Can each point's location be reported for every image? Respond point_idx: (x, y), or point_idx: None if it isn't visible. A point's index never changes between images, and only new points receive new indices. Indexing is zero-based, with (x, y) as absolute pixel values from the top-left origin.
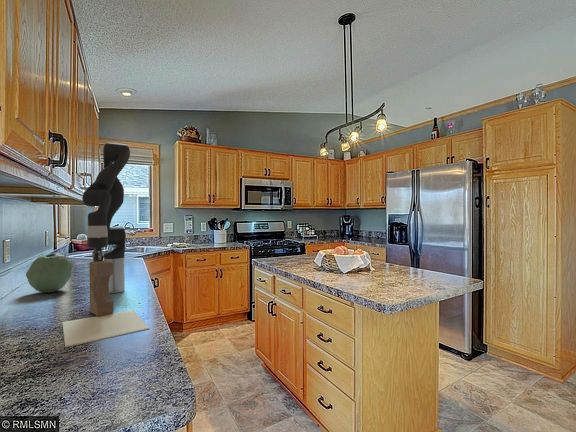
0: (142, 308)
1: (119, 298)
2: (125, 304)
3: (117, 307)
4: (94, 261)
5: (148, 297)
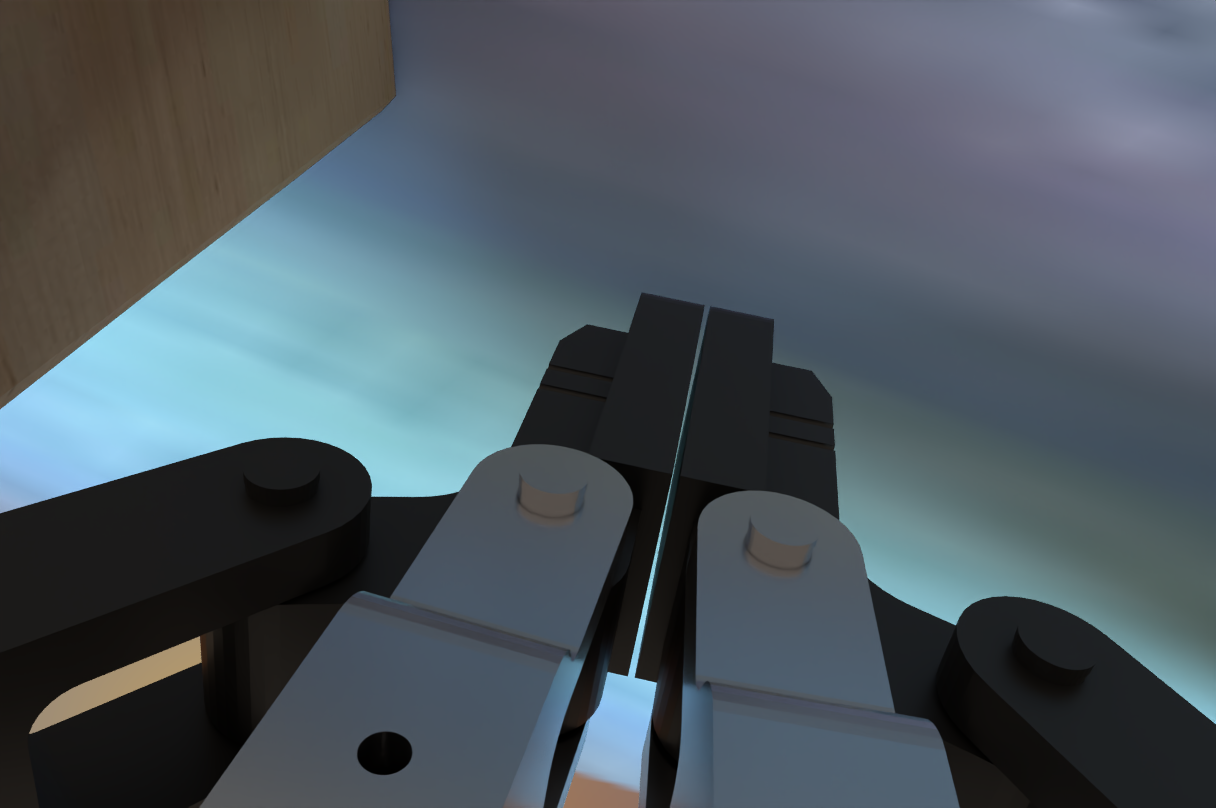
0: (94, 459)
1: (956, 527)
2: (471, 421)
3: (377, 279)
4: (327, 670)
5: (622, 751)
